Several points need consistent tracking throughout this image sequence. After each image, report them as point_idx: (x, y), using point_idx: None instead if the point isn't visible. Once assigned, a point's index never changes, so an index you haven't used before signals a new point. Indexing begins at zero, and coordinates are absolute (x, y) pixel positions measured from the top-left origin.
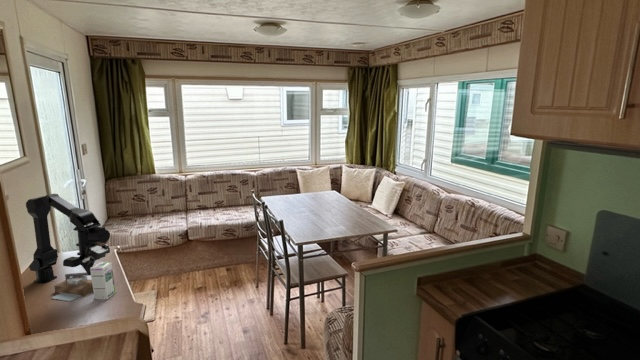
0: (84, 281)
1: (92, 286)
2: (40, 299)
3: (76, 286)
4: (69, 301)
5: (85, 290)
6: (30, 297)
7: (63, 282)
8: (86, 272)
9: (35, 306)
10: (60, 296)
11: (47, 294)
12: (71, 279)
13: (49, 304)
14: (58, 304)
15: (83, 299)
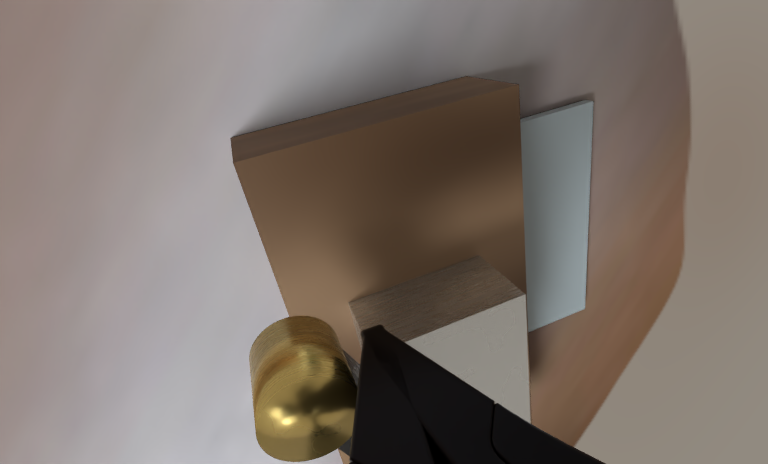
0: (402, 299)
1: (385, 116)
2: (598, 353)
3: None
4: (584, 119)
5: (495, 87)
6: (589, 424)
7: None
8: (344, 452)
9: (674, 273)
10: (552, 277)
11: (536, 395)
12: (511, 404)
13: (643, 221)
14: (636, 155)
15: (520, 18)
